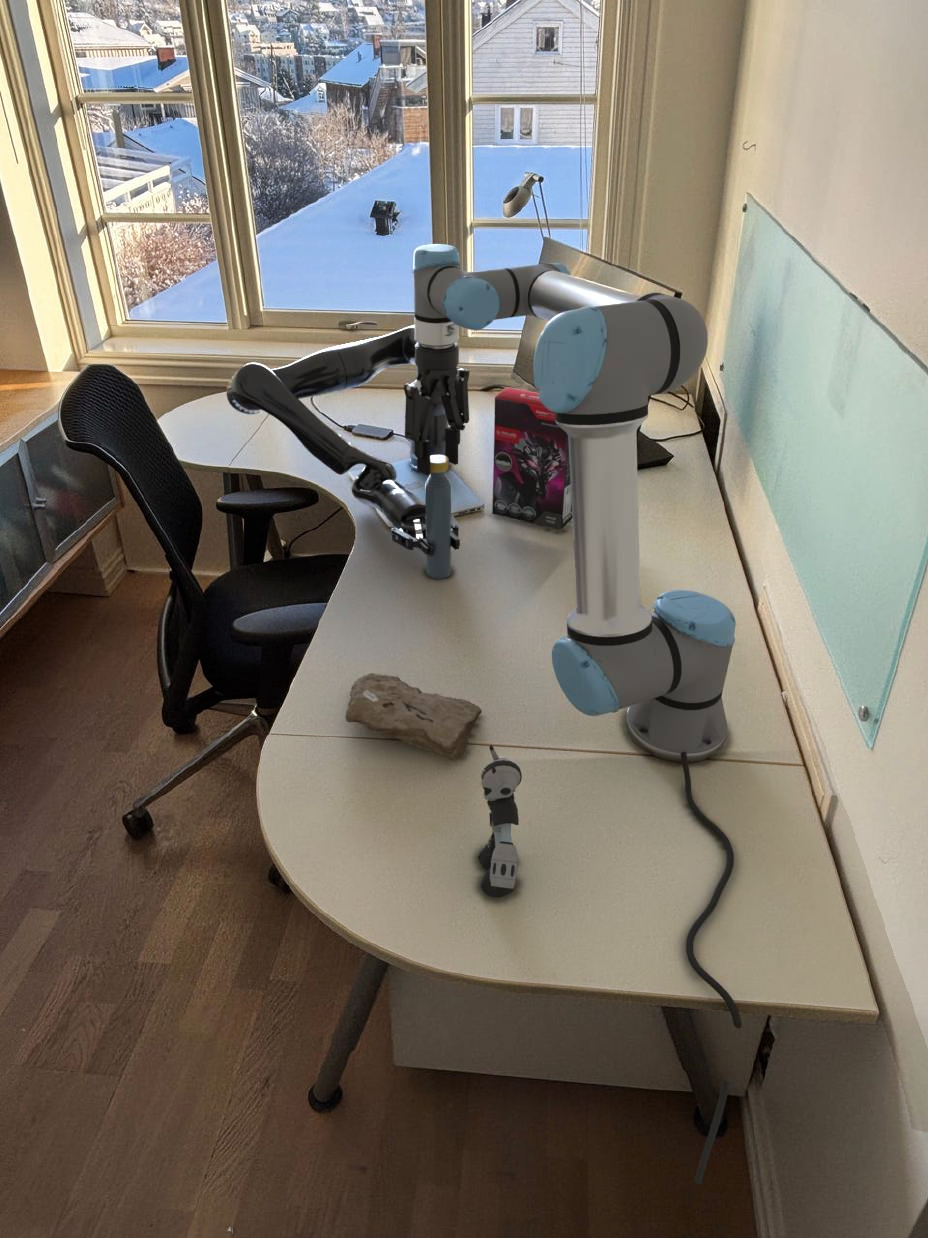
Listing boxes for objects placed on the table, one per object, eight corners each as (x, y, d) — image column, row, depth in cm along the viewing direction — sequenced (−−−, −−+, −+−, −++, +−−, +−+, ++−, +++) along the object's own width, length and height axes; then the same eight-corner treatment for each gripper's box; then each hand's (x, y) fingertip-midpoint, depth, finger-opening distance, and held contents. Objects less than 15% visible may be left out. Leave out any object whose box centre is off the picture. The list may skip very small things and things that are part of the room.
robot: (523, 934, 111) (531, 817, 100) (483, 936, 111) (487, 818, 100) (509, 815, 128) (514, 703, 117) (474, 816, 127) (476, 704, 116)
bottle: (434, 563, 185) (432, 454, 172) (455, 569, 183) (455, 459, 170) (422, 574, 181) (419, 463, 168) (443, 581, 180) (443, 469, 166)
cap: (427, 473, 168) (427, 463, 167) (426, 464, 171) (426, 454, 170) (449, 472, 168) (449, 463, 167) (448, 463, 172) (448, 454, 170)
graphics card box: (489, 515, 202) (492, 395, 187) (503, 502, 207) (507, 384, 192) (561, 533, 196) (570, 410, 180) (573, 519, 201) (583, 399, 186)
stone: (319, 730, 137) (326, 695, 135) (356, 690, 151) (363, 658, 148) (450, 779, 134) (460, 744, 131) (477, 733, 147) (486, 701, 145)
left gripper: (373, 503, 184) (411, 540, 172) (437, 488, 190) (478, 523, 177) (375, 536, 188) (412, 574, 176) (437, 521, 194) (477, 556, 182)
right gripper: (409, 360, 149) (412, 489, 162) (492, 335, 160) (489, 458, 173) (379, 349, 153) (384, 476, 166) (462, 326, 165) (461, 447, 177)
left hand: (445, 548), depth 177 cm, fingers closed on bottle, 5 cm apart
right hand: (437, 467), depth 170 cm, fingers open, 6 cm apart
